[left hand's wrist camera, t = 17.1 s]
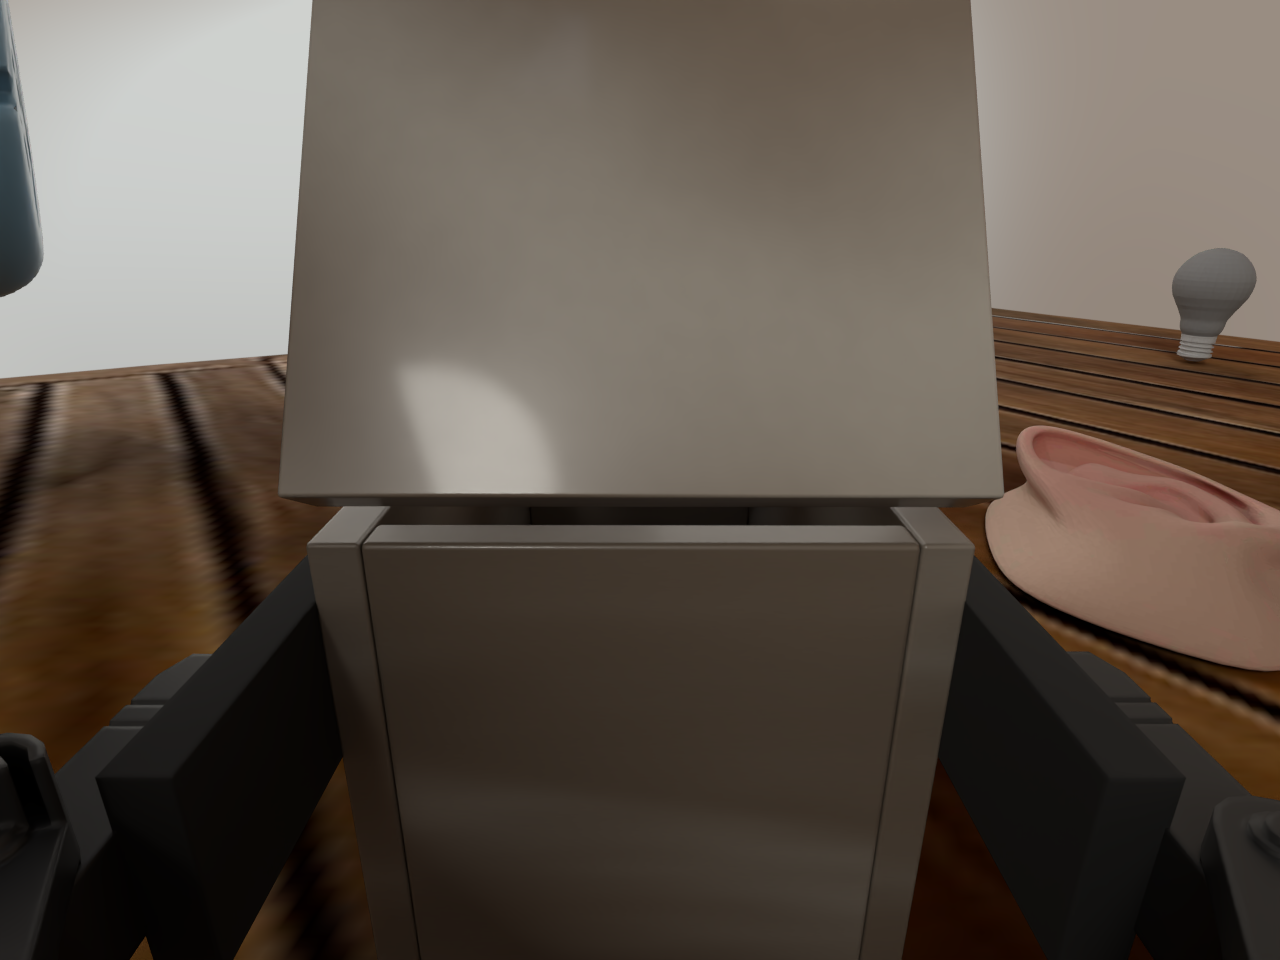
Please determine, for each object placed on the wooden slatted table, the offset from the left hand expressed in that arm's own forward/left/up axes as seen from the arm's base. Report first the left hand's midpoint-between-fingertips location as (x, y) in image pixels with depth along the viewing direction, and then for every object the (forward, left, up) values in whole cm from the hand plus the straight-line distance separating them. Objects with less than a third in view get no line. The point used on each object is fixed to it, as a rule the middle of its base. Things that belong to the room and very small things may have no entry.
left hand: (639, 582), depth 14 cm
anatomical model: (0, +24, -7) cm, 25 cm away
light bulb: (-17, +74, -7) cm, 77 cm away
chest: (-4, +3, -7) cm, 9 cm away
